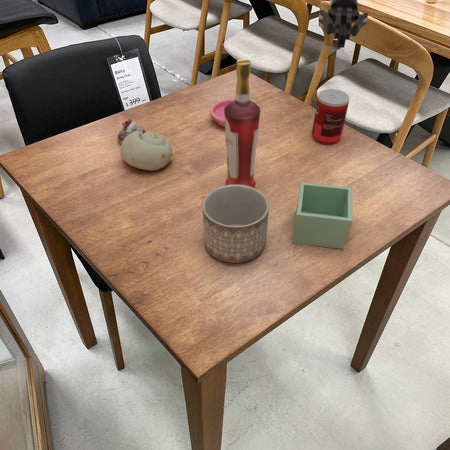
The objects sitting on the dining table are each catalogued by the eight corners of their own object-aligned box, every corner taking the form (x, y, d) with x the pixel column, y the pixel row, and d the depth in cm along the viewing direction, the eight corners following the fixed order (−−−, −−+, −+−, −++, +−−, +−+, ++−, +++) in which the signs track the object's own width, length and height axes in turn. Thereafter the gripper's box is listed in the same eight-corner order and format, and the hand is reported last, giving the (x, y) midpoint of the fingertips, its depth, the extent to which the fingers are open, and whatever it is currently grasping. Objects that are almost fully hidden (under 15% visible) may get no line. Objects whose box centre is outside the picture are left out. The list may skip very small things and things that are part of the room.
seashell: (169, 123, 107) (165, 141, 100) (175, 154, 112) (172, 173, 105) (118, 129, 108) (111, 146, 100) (126, 159, 113) (120, 178, 106)
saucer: (243, 105, 127) (243, 95, 125) (262, 126, 120) (263, 115, 117) (203, 114, 124) (203, 103, 121) (221, 136, 117) (221, 125, 114)
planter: (203, 225, 94) (201, 185, 86) (261, 222, 95) (264, 182, 87) (206, 268, 86) (203, 228, 78) (269, 264, 87) (273, 225, 79)
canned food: (323, 126, 120) (330, 85, 111) (347, 137, 116) (356, 96, 107) (305, 136, 117) (311, 95, 108) (328, 148, 113) (336, 107, 104)
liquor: (221, 180, 104) (219, 56, 83) (250, 175, 106) (256, 52, 84) (229, 199, 100) (229, 73, 78) (259, 194, 101) (268, 68, 79)
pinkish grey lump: (127, 129, 119) (124, 112, 115) (152, 135, 117) (149, 117, 114) (112, 144, 114) (108, 127, 111) (137, 150, 113) (134, 132, 109)
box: (343, 249, 90) (351, 220, 84) (292, 242, 91) (296, 214, 85) (344, 216, 96) (352, 187, 90) (296, 210, 97) (300, 181, 92)
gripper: (364, 24, 123) (365, 59, 109) (317, 21, 125) (312, 55, 110) (371, -7, 117) (373, 26, 103) (321, -10, 119) (317, 22, 104)
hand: (341, 41), depth 107 cm, fingers closed
